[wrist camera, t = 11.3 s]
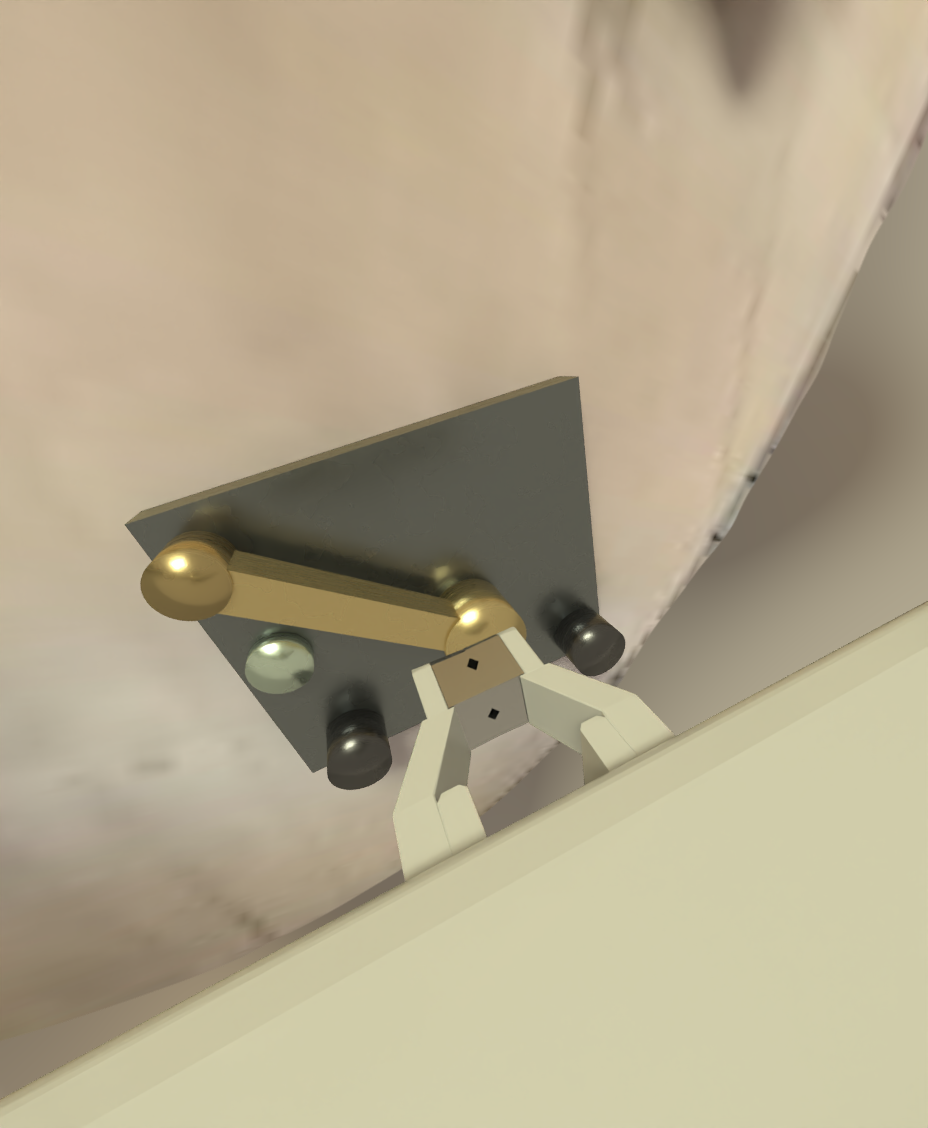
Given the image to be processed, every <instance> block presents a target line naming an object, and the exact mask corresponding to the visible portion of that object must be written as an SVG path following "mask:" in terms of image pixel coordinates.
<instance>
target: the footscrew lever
mask: <svg viewBox="0 0 928 1128" xmlns="http://www.w3.org/2000/svg"><path fill="white" fill-rule="evenodd" d="M141 591H142V594H143V596H144V598H145V600H146V601H147V603H148V604H149V605H150V606H151V607H152V608H153V609H155V610H156V611H157V612H159V613H161V614H163V615H165V616H167V617H170V618H173V619H177V620H183V621H198V620H203V619H207V618H210V617H212V616H214V615H216V614H223V615H229V616H236V617H242V618H248V619H254V620H260V621H266V622H272V623H278V624H284V625H290V626H296V627H302V628H308V629H314V630H321V631H327V632H333V633H339V634H345V635H351V636H357V637H363V638H369V639H375V640H381V641H387V642H393V643H400V644H406V645H412V646H418V647H424V648H430V649H436V650H442V651H444V653H445V655H446V656H447V655H449V654H452V653H454V652H457V651H459V650H462V649H463V648H466V647H468V646H470V645H472V644H475V643H477V642H479V641H481V640H484V639H486V638H488V637H490V636H493V635H495V634H497V633H499V632H501V631H504V630H506V629H508V628H510V627H515V628H516V629H517V630H518V632H519V633H520V634H521V635H522V637H523V638H524V639H525V641H526V627H525V624H524V621H523V620H522V618H521V617H520V616H519V615H518V613H517V612H516V611H515V610H514V609H513V607H512V606H511V605H510V604H509V603H508V601H507V600H506V599H505V598H504V597H503V596H502V594H501V593H500V592H499V591H498V590H497V588H496V587H495V586H494V585H492V584H491V583H489V582H487V581H484V580H480V579H468V580H463V581H460V582H458V583H455V584H453V585H452V586H450V587H449V588H447V589H446V590H445V591H444V592H443V593H442V594H441V595H440V596H439V597H435V596H431V595H427V594H422V593H418V592H414V591H409V590H405V589H401V588H396V587H392V586H388V585H384V584H379V583H375V582H371V581H366V580H362V579H358V578H353V577H349V576H345V575H340V574H336V573H332V572H328V571H323V570H319V569H315V568H310V567H306V566H302V565H297V564H293V563H289V562H285V561H280V560H276V559H272V558H267V557H263V556H259V555H254V554H250V553H246V552H241V551H237V549H236V548H235V547H234V546H233V544H231V543H230V542H229V541H228V540H226V539H225V538H223V537H221V536H219V535H217V534H214V533H211V532H206V531H190V532H185V533H182V534H180V535H178V536H176V537H174V538H173V539H171V540H170V541H169V542H168V543H167V545H166V546H165V547H164V548H163V549H162V550H161V552H160V553H159V554H158V555H157V556H156V557H155V558H154V560H153V561H152V562H151V563H150V564H149V565H148V567H147V568H146V569H145V571H144V573H143V575H142V578H141Z"/></svg>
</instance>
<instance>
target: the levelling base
mask: <svg viewBox="0 0 928 1128" xmlns="http://www.w3.org/2000/svg"><path fill="white" fill-rule="evenodd" d="M125 526H126V527H127V528H128V530H129V531H130V532H131V534H132V535H133V536H134V538H135V539H136V540H137V542H138V543H139V544H140V546H141V547H142V548H143V550H144V551H145V552H146V553H147V555H148V556H149V557H150V559H151V560H152V561H153V560H154V558H155V557H156V556H157V555H158V554H159V553H160V552H161V550H162V549H163V548H164V547H165V546H166V545H167V543H168V542H169V541H170V540H171V539H173V538H174V537H176V536H178V535H180V534H182V533H185V532H190V531H206V532H211V533H214V534H217V535H219V536H221V537H223V538H225V539H226V540H228V541H229V542H230V543H231V544H233V546H234V547H235V548H236V549H237V551H241V552H246V553H250V554H254V555H259V556H263V557H267V558H272V559H276V560H280V561H285V562H289V563H293V564H297V565H302V566H306V567H310V568H315V569H319V570H323V571H328V572H332V573H336V574H340V575H345V576H349V577H353V578H358V579H362V580H366V581H371V582H375V583H379V584H384V585H388V586H392V587H396V588H401V589H405V590H409V591H414V592H418V593H422V594H427V595H431V596H435V597H439V596H440V595H441V594H442V593H443V592H444V591H445V590H446V589H447V588H449V587H450V586H452V585H453V584H455V583H458V582H460V581H463V580H468V579H480V580H484V581H487V582H489V583H491V584H492V585H494V586H495V587H496V588H497V590H498V591H499V592H500V593H501V594H502V596H503V597H504V598H505V599H506V600H507V601H508V603H509V604H510V605H511V606H512V607H513V609H514V610H515V611H516V612H517V613H518V615H519V616H520V617H521V618H522V620H523V621H524V624H525V627H526V642H527V643H528V644H529V646H530V647H531V648H532V650H533V651H534V652H535V653H536V655H537V656H538V657H539V659H540V660H541V661H542V663H543V664H544V665H545V664H548V663H551V662H553V661H555V660H557V659H559V658H561V657H564V656H567V657H568V658H569V660H570V661H571V662H572V663H573V664H574V665H575V666H576V667H577V669H578V670H579V671H580V672H581V673H582V674H584V675H586V676H596V675H600V674H602V673H604V672H606V671H608V670H609V669H611V668H612V667H613V666H614V665H615V664H616V663H617V662H618V661H619V659H620V658H621V656H622V654H623V652H624V649H625V639H624V637H623V635H622V634H621V633H620V632H619V631H618V630H616V629H615V628H614V627H613V626H612V625H611V624H609V623H608V622H607V621H606V620H605V619H604V618H602V617H601V616H600V615H599V607H598V596H597V584H596V573H595V561H594V550H593V538H592V527H591V515H590V504H589V492H588V481H587V469H586V458H585V446H584V435H583V423H582V412H581V400H580V389H579V377H574V376H559V377H556V378H553V379H550V380H547V381H543V382H540V383H537V384H534V385H531V386H528V387H525V388H522V389H519V390H516V391H512V392H509V393H506V394H503V395H500V396H497V397H494V398H491V399H488V400H485V401H482V402H478V403H475V404H472V405H469V406H466V407H463V408H460V409H457V410H454V411H451V412H447V413H444V414H441V415H438V416H435V417H432V418H429V419H426V420H423V421H420V422H417V423H413V424H410V425H407V426H404V427H401V428H398V429H395V430H392V431H389V432H386V433H382V434H379V435H376V436H373V437H370V438H367V439H364V440H361V441H358V442H355V443H352V444H348V445H345V446H342V447H339V448H336V449H333V450H330V451H327V452H324V453H321V454H317V455H314V456H311V457H308V458H305V459H302V460H299V461H296V462H293V463H290V464H287V465H283V466H280V467H277V468H274V469H271V470H268V471H265V472H262V473H259V474H256V475H252V476H249V477H246V478H243V479H240V480H237V481H234V482H231V483H228V484H225V485H222V486H218V487H215V488H212V489H209V490H206V491H203V492H200V493H197V494H194V495H191V496H188V497H184V498H181V499H178V500H175V501H172V502H169V503H166V504H163V505H160V506H157V507H153V508H150V509H147V510H144V511H141V512H140V513H139V514H137V515H136V516H135V517H134V518H132V519H131V520H130V521H129V522H127V523H126V524H125ZM198 622H199V623H200V625H201V626H202V627H203V629H204V630H205V631H206V633H207V634H208V635H209V637H210V638H211V639H212V640H213V642H214V643H215V644H216V646H217V647H218V648H219V650H220V651H221V652H222V654H223V655H224V656H225V658H226V659H227V660H228V662H229V663H230V664H231V666H232V667H233V668H234V669H235V671H236V672H237V673H238V675H239V676H240V677H241V679H242V680H243V681H244V683H245V684H246V685H247V687H248V688H249V689H250V691H251V692H252V693H253V695H254V696H255V697H256V699H257V700H258V701H259V702H260V704H261V705H262V706H263V708H264V709H265V710H266V712H267V713H268V714H269V716H270V717H271V718H272V720H273V721H274V722H275V724H276V725H277V726H278V728H279V729H280V730H281V731H282V733H283V734H284V735H285V737H286V738H287V739H288V741H289V742H290V743H291V745H292V746H293V747H294V749H295V750H296V751H297V753H298V754H299V755H300V757H301V758H302V759H303V760H304V762H305V763H306V764H307V766H308V767H309V768H310V770H311V771H312V772H313V773H314V772H316V771H318V770H320V769H322V768H324V767H326V766H327V774H328V779H329V781H330V782H331V783H332V784H333V785H334V786H336V787H338V788H341V789H346V790H354V789H361V788H364V787H367V786H370V785H372V784H374V783H376V782H377V781H379V780H380V779H381V778H383V777H384V776H385V775H386V773H387V772H388V771H389V769H390V767H391V764H392V756H391V751H390V746H389V741H388V738H389V737H391V736H393V735H395V734H398V733H400V732H402V731H404V730H406V729H408V728H411V727H413V726H415V725H417V724H419V723H421V722H422V721H424V720H426V719H427V717H426V714H425V711H424V708H423V705H422V702H421V699H420V696H419V693H418V690H417V687H416V685H415V682H414V679H413V676H412V670H413V669H416V668H418V667H421V666H423V665H426V664H428V663H429V664H430V662H432V661H434V660H437V659H439V658H442V657H444V656H446V655H445V653H444V651H442V650H436V649H430V648H424V647H418V646H412V645H406V644H400V643H393V642H387V641H381V640H375V639H369V638H363V637H357V636H351V635H345V634H339V633H333V632H327V631H321V630H314V629H308V628H302V627H296V626H290V625H284V624H278V623H272V622H266V621H260V620H254V619H248V618H242V617H236V616H229V615H223V614H216V615H214V616H212V617H210V618H207V619H203V620H198Z"/></svg>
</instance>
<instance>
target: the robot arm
mask: <svg viewBox="0 0 928 1128" xmlns="http://www.w3.org/2000/svg"><path fill="white" fill-rule="evenodd" d="M412 676H413V679H414V682H415V685H416V687H417V690H418V693H419V696H420V699H421V702H422V705H423V708H424V711H425V714H426V717H427V719H426V720H424V721H422V723H421V726H420V729H419V732H418V735H417V739H416V742H415V745H414V748H413V752H412V755H411V758H410V761H409V764H408V768H407V771H406V774H405V777H404V780H403V784H402V787H401V790H400V793H399V796H398V800H397V803H396V806H395V809H394V813H393V821H394V826H395V832H396V837H397V842H398V847H399V852H400V858H401V863H402V868H403V873H404V879H405V882H404V883H402V884H400V885H398V886H396V887H394V888H392V889H391V890H389V891H387V892H385V893H383V894H381V895H379V896H378V897H376V898H374V899H372V900H370V901H368V902H366V903H365V904H363V905H361V906H359V907H357V908H355V909H354V910H352V911H350V912H348V913H346V914H344V915H342V916H341V917H339V918H337V919H335V920H333V921H331V922H329V923H328V924H326V925H324V926H322V927H320V928H318V929H317V930H314V931H313V932H311V933H309V934H307V935H305V936H303V937H301V938H300V939H298V940H296V941H294V942H292V943H290V944H288V945H287V946H285V947H283V948H281V949H279V950H277V951H275V952H273V953H272V954H270V955H268V956H266V957H264V958H262V959H260V960H259V961H257V962H255V963H253V964H251V965H250V966H247V967H246V968H244V969H242V970H240V971H238V972H236V973H234V974H233V975H231V976H229V977H227V978H225V979H223V980H221V981H219V982H218V983H216V984H214V985H212V986H210V987H208V988H207V989H205V990H203V991H201V992H199V993H197V994H195V995H194V996H191V997H190V998H188V999H186V1000H184V1001H182V1002H180V1003H179V1004H177V1005H175V1006H173V1007H171V1008H169V1009H167V1010H166V1011H164V1012H162V1013H160V1014H158V1015H156V1016H154V1017H152V1018H151V1019H149V1020H147V1021H145V1022H143V1023H141V1024H140V1025H138V1026H136V1027H134V1028H132V1029H130V1030H128V1031H126V1032H124V1033H123V1034H121V1035H119V1036H117V1037H115V1038H113V1039H111V1040H110V1041H108V1042H106V1043H104V1044H102V1045H100V1046H98V1047H96V1048H95V1049H93V1050H91V1051H89V1052H87V1053H85V1054H83V1055H82V1056H80V1057H78V1058H76V1059H74V1060H72V1061H70V1062H69V1063H67V1064H65V1065H63V1066H61V1067H59V1068H57V1069H56V1070H54V1071H52V1072H50V1073H48V1074H46V1075H45V1076H42V1077H40V1078H39V1079H37V1080H35V1081H33V1082H31V1083H29V1084H27V1085H26V1086H24V1087H22V1088H20V1089H18V1090H16V1091H14V1092H13V1093H11V1094H9V1095H7V1096H5V1097H3V1098H1V1099H0V1128H928V601H926V602H924V603H923V604H921V605H919V606H917V607H915V608H914V609H912V610H910V611H908V612H906V613H904V614H902V615H900V616H899V617H897V618H895V619H893V620H891V621H889V622H887V623H886V624H884V625H882V626H880V627H878V628H876V629H874V630H872V631H871V632H869V633H867V634H865V635H863V636H861V637H859V638H858V639H856V640H854V641H852V642H850V643H848V644H847V645H845V646H843V647H841V648H839V649H837V650H835V651H833V652H832V653H830V654H828V655H826V656H824V657H822V658H820V659H818V660H817V661H815V662H813V663H811V664H809V665H808V666H806V667H804V668H802V669H800V670H798V671H796V672H794V673H792V674H791V675H789V676H787V677H785V678H783V679H781V680H779V681H778V682H776V683H774V684H772V685H770V686H768V687H767V688H765V689H763V690H761V691H759V692H757V693H755V694H753V695H752V696H750V697H748V698H746V699H744V700H743V701H740V702H739V703H737V704H735V705H733V706H731V707H729V708H727V709H726V710H724V711H722V712H720V713H718V714H716V715H715V716H713V717H711V718H709V719H707V720H705V721H703V722H702V723H700V724H698V725H696V726H694V727H692V728H690V729H689V730H687V731H685V732H683V733H681V734H679V735H677V736H675V735H674V734H673V733H672V731H670V729H669V728H668V727H667V726H666V725H665V724H664V723H663V722H662V721H661V720H660V719H659V718H658V717H657V716H656V715H655V714H654V713H653V712H652V711H651V710H650V709H649V708H648V707H647V706H646V705H645V704H644V702H643V701H642V700H641V699H640V698H639V697H638V696H637V695H636V694H633V693H630V692H628V691H625V690H622V689H619V688H617V687H614V686H611V685H609V684H606V683H603V682H600V681H598V680H595V679H592V678H590V677H587V676H584V675H581V674H579V673H576V672H573V671H570V670H568V669H565V668H562V667H560V666H557V665H554V664H551V663H548V664H545V665H544V664H543V663H542V661H541V660H540V659H539V657H538V656H537V655H536V653H535V652H534V651H533V650H532V648H531V647H530V646H529V644H528V643H527V642H526V641H525V639H524V638H523V637H522V635H521V634H520V633H519V632H518V630H517V629H516V628H515V627H510V628H508V629H506V630H504V631H501V632H499V633H497V634H495V635H493V636H490V637H488V638H486V639H484V640H481V641H479V642H477V643H475V644H472V645H470V646H468V647H466V648H463V649H462V650H459V651H457V652H454V653H452V654H449V655H447V656H444V657H442V658H439V659H437V660H434V661H432V662H430V664H429V663H428V664H426V665H423V666H421V667H418V668H416V669H413V670H412ZM528 722H529V724H531V725H533V726H534V727H536V728H538V729H539V730H541V731H543V732H544V733H546V734H548V735H549V736H551V737H553V738H554V739H556V740H558V741H560V742H561V743H563V744H565V745H566V746H568V747H570V748H571V749H573V750H575V751H576V752H578V753H580V754H581V755H582V758H583V772H584V786H582V787H581V788H578V789H577V790H575V791H573V792H571V793H569V794H567V795H565V796H564V797H562V798H560V799H558V800H556V801H554V802H552V803H550V804H549V805H547V806H545V807H543V808H541V809H539V810H537V811H536V812H534V813H532V814H530V815H529V816H526V817H525V818H523V819H521V820H519V821H517V822H515V823H513V824H511V825H510V826H508V827H506V828H504V829H502V830H500V831H499V832H497V833H495V834H493V835H491V836H489V837H487V836H486V833H485V830H484V828H483V825H482V823H481V820H480V818H479V815H478V813H477V810H476V808H475V805H474V803H473V800H472V798H471V795H470V793H469V790H468V788H467V781H468V773H469V765H470V758H471V750H473V749H474V748H476V747H478V746H480V745H482V744H484V743H486V742H488V741H490V740H492V739H494V738H496V737H497V736H499V735H502V734H504V733H506V732H508V731H510V730H513V729H515V728H517V727H519V726H521V725H524V724H526V723H528Z"/></svg>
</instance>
